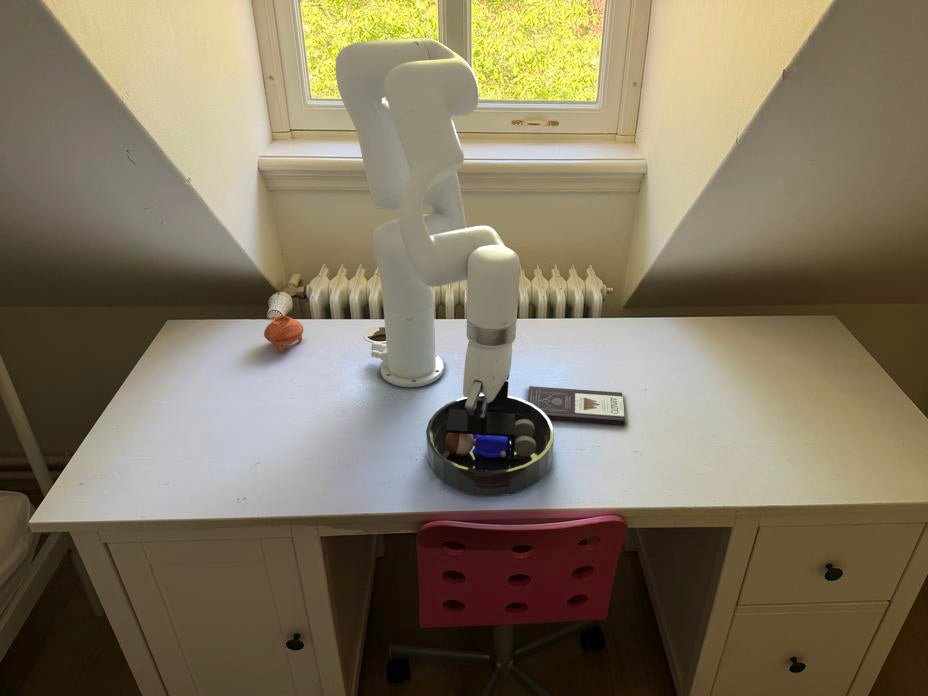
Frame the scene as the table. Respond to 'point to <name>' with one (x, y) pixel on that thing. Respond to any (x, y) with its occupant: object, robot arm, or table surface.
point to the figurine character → (490, 436)
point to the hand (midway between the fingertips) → (487, 415)
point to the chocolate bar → (578, 404)
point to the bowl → (490, 472)
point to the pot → (283, 331)
